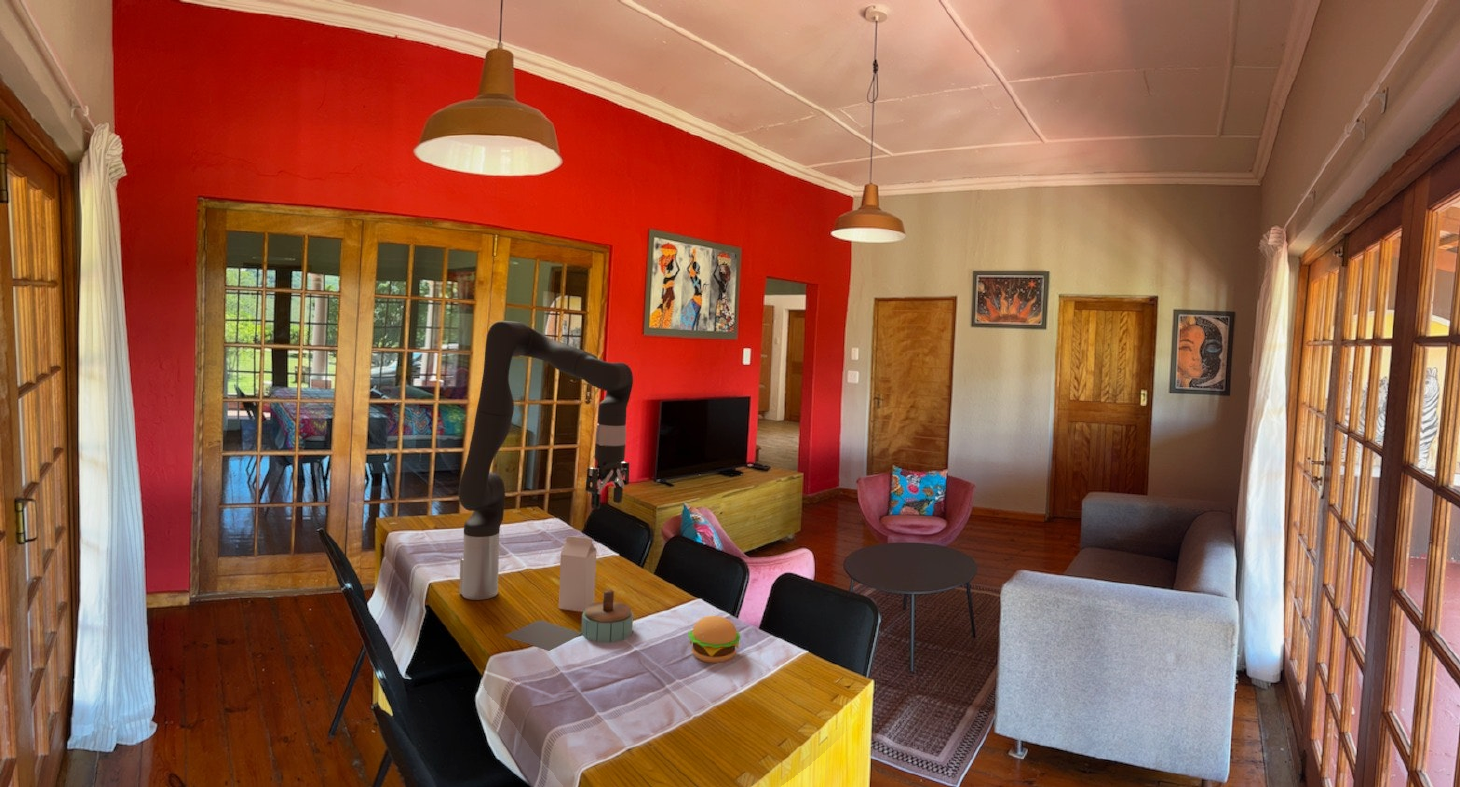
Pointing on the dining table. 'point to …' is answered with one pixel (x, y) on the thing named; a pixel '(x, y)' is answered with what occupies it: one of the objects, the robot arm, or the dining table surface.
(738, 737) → the dining table surface
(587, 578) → the milk carton
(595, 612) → the lid
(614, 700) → the dining table surface
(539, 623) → the mat
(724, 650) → the hamburger
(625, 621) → the bowl
